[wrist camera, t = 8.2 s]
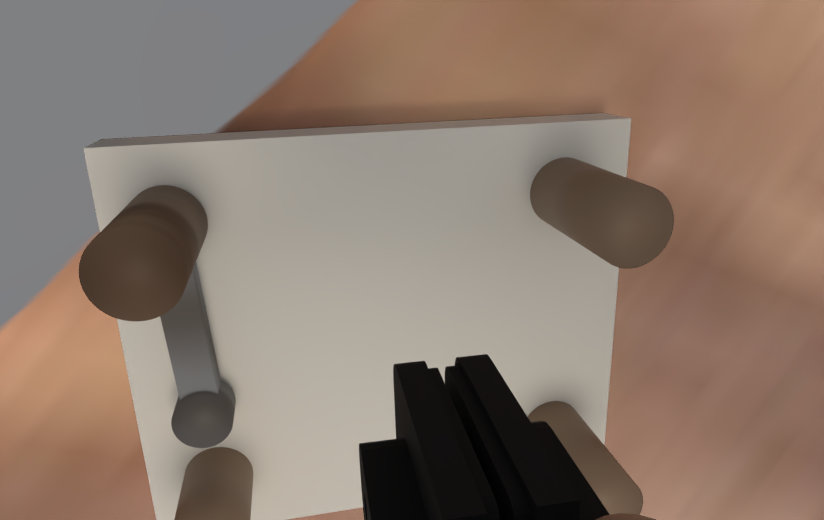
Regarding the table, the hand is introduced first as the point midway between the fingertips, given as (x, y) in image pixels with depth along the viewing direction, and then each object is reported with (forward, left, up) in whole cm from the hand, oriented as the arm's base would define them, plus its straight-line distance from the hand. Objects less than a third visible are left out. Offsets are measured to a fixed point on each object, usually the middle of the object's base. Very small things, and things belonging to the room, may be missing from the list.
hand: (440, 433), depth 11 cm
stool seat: (-1, +6, -18) cm, 19 cm away
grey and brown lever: (+7, +4, -16) cm, 17 cm away
